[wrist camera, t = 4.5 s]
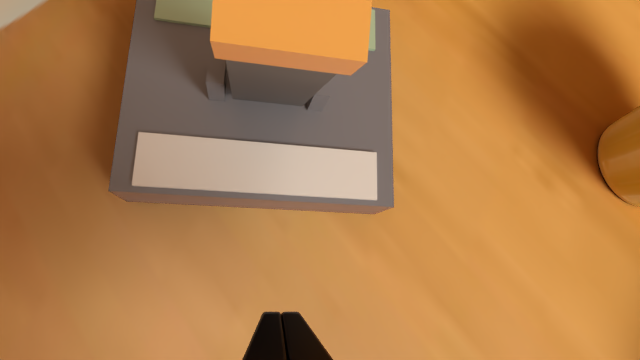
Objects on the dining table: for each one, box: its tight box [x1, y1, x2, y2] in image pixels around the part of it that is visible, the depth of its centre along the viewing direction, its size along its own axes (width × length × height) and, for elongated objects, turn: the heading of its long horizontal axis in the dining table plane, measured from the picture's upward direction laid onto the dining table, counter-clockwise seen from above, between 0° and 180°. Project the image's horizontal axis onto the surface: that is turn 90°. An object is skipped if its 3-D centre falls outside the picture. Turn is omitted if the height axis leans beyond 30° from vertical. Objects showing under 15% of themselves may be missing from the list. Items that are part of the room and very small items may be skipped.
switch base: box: [109, 0, 394, 214], centre depth 21 cm, size 12×14×5 cm
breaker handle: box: [210, 0, 372, 106], centre depth 15 cm, size 2×4×11 cm, turn 89°
